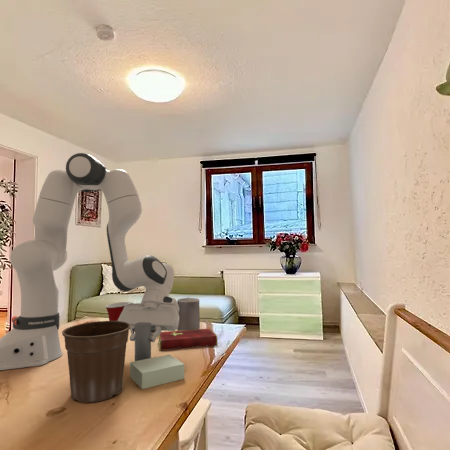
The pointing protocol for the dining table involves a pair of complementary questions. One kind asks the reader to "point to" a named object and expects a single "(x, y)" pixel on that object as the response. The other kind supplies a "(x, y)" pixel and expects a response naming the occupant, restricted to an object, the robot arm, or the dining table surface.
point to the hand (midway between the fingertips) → (142, 340)
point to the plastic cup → (115, 310)
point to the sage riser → (156, 371)
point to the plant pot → (96, 359)
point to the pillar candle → (188, 314)
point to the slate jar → (142, 341)
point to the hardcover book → (187, 339)
